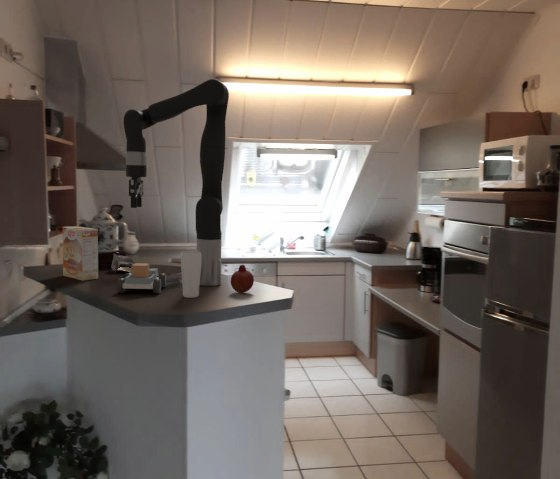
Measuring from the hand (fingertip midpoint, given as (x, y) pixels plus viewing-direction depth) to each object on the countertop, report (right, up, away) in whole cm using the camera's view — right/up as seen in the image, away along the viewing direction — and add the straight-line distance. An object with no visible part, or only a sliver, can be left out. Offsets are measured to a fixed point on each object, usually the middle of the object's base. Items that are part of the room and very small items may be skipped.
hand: (136, 207), depth 202 cm
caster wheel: (-10, -26, +22) cm, 36 cm away
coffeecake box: (-24, -27, +7) cm, 37 cm away
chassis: (+6, -30, -15) cm, 34 cm away
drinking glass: (+25, -32, -24) cm, 46 cm away
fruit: (+41, -31, -16) cm, 54 cm away
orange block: (+6, -27, -18) cm, 33 cm away
